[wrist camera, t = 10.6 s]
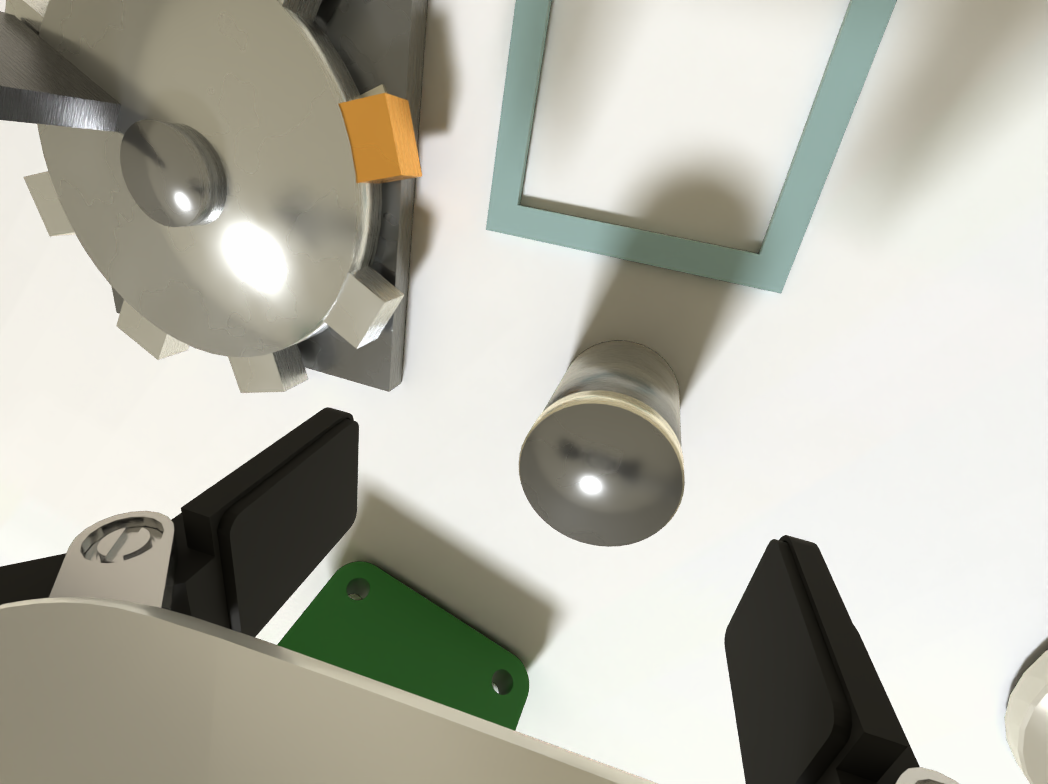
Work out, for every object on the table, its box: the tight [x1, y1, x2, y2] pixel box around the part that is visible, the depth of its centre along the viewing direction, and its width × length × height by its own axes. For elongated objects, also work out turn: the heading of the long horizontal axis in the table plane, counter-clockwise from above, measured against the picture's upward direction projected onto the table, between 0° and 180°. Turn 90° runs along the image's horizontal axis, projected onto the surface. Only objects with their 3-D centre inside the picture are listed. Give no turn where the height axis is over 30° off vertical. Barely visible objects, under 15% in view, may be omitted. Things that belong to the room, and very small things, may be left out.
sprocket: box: [0, 0, 422, 393], centre depth 15 cm, size 16×16×8 cm
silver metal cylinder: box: [519, 341, 684, 546], centre depth 16 cm, size 4×4×6 cm
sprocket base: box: [112, 0, 428, 392], centre depth 19 cm, size 14×14×1 cm
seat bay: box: [486, 0, 897, 293], centre depth 14 cm, size 10×10×1 cm
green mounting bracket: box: [278, 561, 529, 731], centre depth 25 cm, size 12×6×9 cm, turn 56°
